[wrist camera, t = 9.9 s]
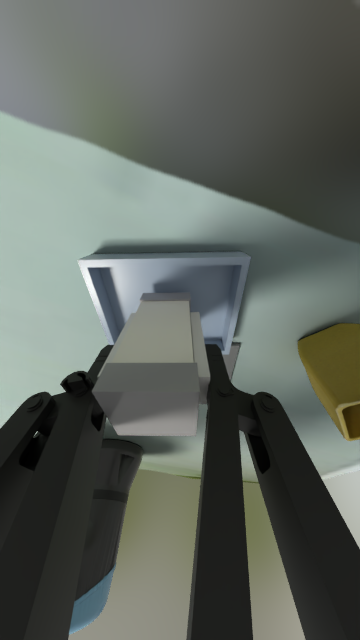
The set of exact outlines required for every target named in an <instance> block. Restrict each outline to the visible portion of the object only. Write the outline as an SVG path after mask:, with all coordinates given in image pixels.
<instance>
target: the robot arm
mask: <svg viewBox="0 0 360 640" xmlns="http://www.w3.org/2000/svg"><path fill="white" fill-rule="evenodd" d="M135 314H136V313H131V315H130V317H129V318H128V320H127V322H126V324H125V326H124V328H123V330H122V331H121V333H120V335H119V337H118V339H117V341H116V343H115V344H114V345H107V346H106V347H104V348H103V349H102V350H101V352H100V353H99V355H98V357H97V358H96V360H95V362H94V363H93V365H92V366H91V368H90V369H89V371H88V373H87V372H85V371H77V372H74V373H72V374H70V375H68V376H67V377H66V378H65V379H64V380H63V381H62V382H61V384H60V385H61V386H62V387H63V388H64V390H65V391H66V392H64V393H61V394H57V395H54V396H51V395H50V394H49V393H48V392H40V393H37V394H35V395H33V396H31V397H30V398H28V399H27V400H26V401H25V402H24V403H23V404H22V405H21V406H20V407H19V408H18V409H17V410H16V412H15V413H14V414H13V415H12V416H11V417H10V418H9V420H8V421H7V422H6V423H5V424H4V425H3V426H2V428H1V429H0V640H68V636H69V634H72V633H74V632H76V631H78V630H80V629H82V628H84V627H86V626H87V625H89V624H90V623H91V622H93V621H94V620H95V619H96V618H97V617H98V616H99V614H100V613H101V612H102V610H103V608H104V606H105V604H106V601H107V598H108V594H109V590H110V585H111V581H112V577H113V572H114V570H115V566H116V558H117V553H118V547H119V542H120V537H121V531H122V526H123V521H124V516H125V510H126V505H127V500H128V495H129V490H130V487H131V485H132V483H133V480H134V478H135V475H136V473H137V471H138V468H139V466H140V463H141V460H142V455H143V450H142V448H141V447H139V446H138V445H136V444H133V443H130V442H126V441H121V440H103V434H104V428H105V422H106V417H107V416H106V414H105V413H104V411H103V409H102V408H101V406H100V405H99V403H98V401H97V400H96V398H95V396H94V395H93V393H92V390H93V388H94V386H95V384H96V382H97V380H98V378H99V376H100V374H101V373H102V371H103V369H104V367H105V365H106V363H112V361H113V359H114V356H115V354H116V352H117V350H118V348H119V346H120V344H121V342H122V340H123V338H124V336H125V334H126V332H127V330H128V328H129V326H130V324H131V322H132V320H133V318H134V316H135ZM190 321H191V334H192V346H193V359H194V363H197V367H198V377H199V387H200V397H199V404H206V403H207V406H208V410H207V416H206V418H207V419H206V430H205V441H204V452H203V463H202V474H201V485H200V497H199V508H198V519H197V529H196V541H195V551H194V563H193V574H192V584H191V595H190V607H189V618H188V629H187V640H253V633H252V617H251V602H250V587H249V572H248V557H247V543H246V527H245V512H244V498H243V482H242V467H241V452H240V437H239V430H241V431H243V432H244V434H245V437H246V441H247V444H248V448H249V451H250V454H251V458H252V461H253V464H254V468H255V471H256V474H257V478H258V481H259V484H260V488H261V491H262V495H263V498H264V501H265V505H266V508H267V511H268V515H269V517H270V521H271V525H272V528H273V531H274V535H275V538H276V542H277V545H278V548H279V552H280V555H281V558H282V562H283V565H284V568H285V572H286V575H287V578H288V582H289V585H290V589H291V592H292V595H293V599H294V602H295V605H296V608H297V612H298V615H299V619H300V622H301V625H302V629H303V632H304V635H305V639H306V640H360V549H359V547H358V545H357V544H356V542H355V540H354V538H353V536H352V534H351V532H350V530H349V529H348V527H347V525H346V523H345V521H344V519H343V518H342V516H341V514H340V512H339V510H338V508H337V506H336V505H335V503H334V501H333V499H332V497H331V495H330V494H329V492H328V490H327V488H326V486H325V484H324V483H323V481H322V479H321V477H320V475H319V473H318V471H317V470H316V468H315V466H314V464H313V462H312V460H311V458H310V457H309V455H308V453H307V451H306V449H305V447H304V446H303V444H302V442H301V440H300V438H299V436H298V435H297V433H296V431H295V429H294V427H293V425H292V423H291V422H290V420H289V418H288V416H287V414H286V412H285V411H284V409H283V407H282V405H281V404H280V402H279V401H278V399H276V398H275V397H274V396H273V395H271V394H269V393H266V392H258V393H256V394H255V395H252V394H248V393H245V392H242V391H240V390H238V389H237V388H235V387H234V386H233V385H232V383H231V382H230V379H229V376H228V372H227V369H226V365H225V362H224V359H223V356H222V352H221V349H220V348H219V346H218V345H217V344H205V343H204V337H203V332H202V326H201V320H200V314H199V312H190ZM37 431H38V432H37ZM36 432H37V434H36V435H35V433H36ZM34 435H35V436H34Z"/></svg>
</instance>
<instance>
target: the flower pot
mask: <svg viewBox="0 0 360 640" xmlns="http://www.w3.org/2000/svg"><path fill="white" fill-rule="evenodd" d="M298 352H299V355H300V358H301V361H302V363H303V365H304V367H305V369H306V372H307V374H308V377H309V380H310V382H311V385H312V387H313V389H314V391H315V393H316V395H317V396H318V398H319V400H320V401H321V403H322V404H323V406H324V407H325V409H326V411H327V412H328V414H329V415H330V417H331V418H332V420H333V421H334V423H335V425H336V426H337V428H338V429H339V431H340V432H341V434H342V435H343V437H344V438H345V439H346V440H347V441H353V440H358V439H360V324H353V323H340V324H337V325H334V326H332V327H329V328H327V329H325V330H322V331H320V332H318V333H315V334H313V335H310V336H308V337H306V338H303V339H301V340H299V341H298Z"/></svg>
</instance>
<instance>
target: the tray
mask: <svg viewBox="0 0 360 640" xmlns="http://www.w3.org/2000/svg"><path fill="white" fill-rule="evenodd" d="M250 260H251V256H249V255H247V254H245V253H244V252H242V251H223V252H170V253H116V254H91V255H88V256H86V257H83V258H81V259H78V260H77V261H78V264H79V266H80V269H81V271H82V274H83V277H84V279H85V282H86V285H87V287H88V290H89V292H90V295H91V298H92V300H93V303H94V306H95V308H96V311H97V314H98V316H99V319H100V321H101V324H102V327H103V329H104V332H105V335H106V337H107V340H108V343H109V345H114V344H115V343H116V341H117V339H118V337H119V335H120V333H121V331H122V330H123V328H124V326H125V324H126V322H127V320H128V318H129V317H130V315H131V313H136V312H137V310H138V308H139V306H140V298H141V296H142V294H143V293H177V292H190V297H191V308H190V312H199V314H200V320H201V326H202V332H203V337H204V343H205V344H217V345H218V346H219V348H220V349H221V352H222V355H229V352H230V348H231V343H232V339H233V335H234V330H235V326H236V322H237V317H238V313H239V308H240V304H241V300H242V295H243V291H244V287H245V282H246V278H247V274H248V269H249V265H250Z"/></svg>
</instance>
